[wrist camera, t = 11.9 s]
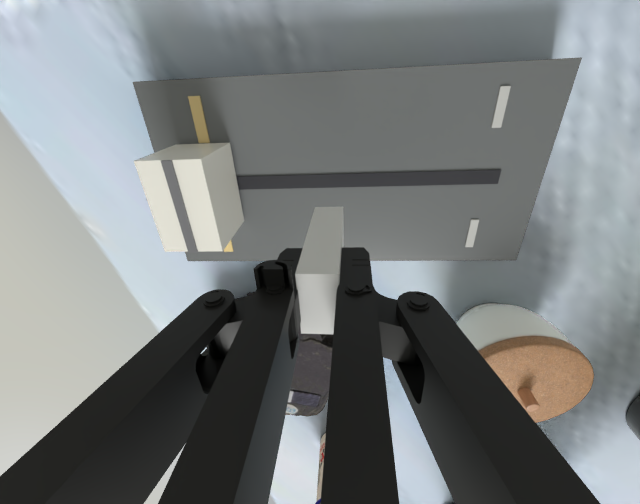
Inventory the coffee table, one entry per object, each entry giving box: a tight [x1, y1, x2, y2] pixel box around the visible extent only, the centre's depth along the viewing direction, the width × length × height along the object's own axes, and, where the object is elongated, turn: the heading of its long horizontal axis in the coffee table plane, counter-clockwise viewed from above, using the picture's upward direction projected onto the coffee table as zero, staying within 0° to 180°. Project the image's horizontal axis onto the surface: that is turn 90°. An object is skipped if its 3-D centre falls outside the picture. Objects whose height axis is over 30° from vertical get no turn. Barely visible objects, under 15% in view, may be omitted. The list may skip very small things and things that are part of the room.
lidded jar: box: [456, 303, 594, 423], centre depth 28 cm, size 11×11×9 cm
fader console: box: [133, 58, 582, 261], centre depth 24 cm, size 28×14×3 cm, turn 93°
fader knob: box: [134, 143, 244, 253], centre depth 21 cm, size 4×6×5 cm, turn 3°
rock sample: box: [247, 292, 333, 416], centre depth 34 cm, size 18×16×5 cm
